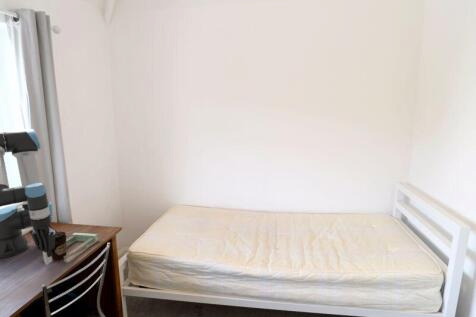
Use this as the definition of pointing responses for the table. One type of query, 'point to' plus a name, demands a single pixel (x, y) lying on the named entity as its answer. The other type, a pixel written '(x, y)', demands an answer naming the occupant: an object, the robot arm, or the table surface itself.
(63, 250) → the coffee cup
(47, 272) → the table surface
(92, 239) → the rail outer
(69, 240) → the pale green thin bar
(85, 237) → the backstop
